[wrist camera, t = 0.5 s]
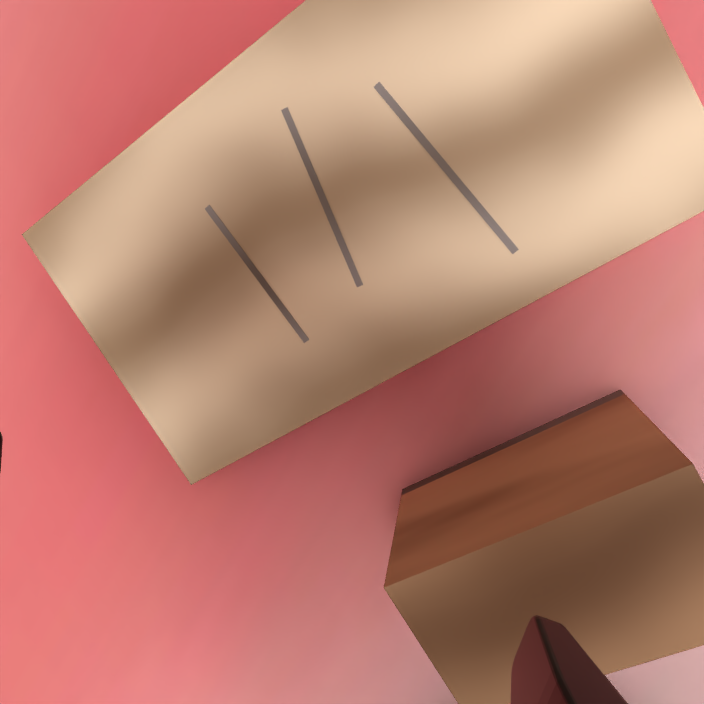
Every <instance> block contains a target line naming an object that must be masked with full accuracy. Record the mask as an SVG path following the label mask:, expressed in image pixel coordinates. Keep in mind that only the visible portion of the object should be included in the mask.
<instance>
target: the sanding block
mask: <svg viewBox="0 0 704 704" xmlns="http://www.w3.org/2000/svg"><path fill="white" fill-rule="evenodd" d="M384 589H385V590H386V592H387V593H388V595H389V597H390V598H391V600H392V601H393V603H394V604H395V606H396V607H397V609H398V611H399V612H400V614H401V615H402V617H403V618H404V620H405V621H406V623H407V625H408V626H409V628H410V629H411V631H412V632H413V634H414V635H415V637H416V639H417V640H418V642H419V643H420V645H421V646H422V648H423V649H424V651H425V653H426V654H427V656H428V657H429V659H430V660H431V662H432V663H433V665H434V667H435V668H436V670H437V671H438V673H439V674H440V676H441V677H442V679H443V680H444V682H445V684H446V685H447V687H448V688H449V690H450V691H451V693H452V694H453V696H454V698H455V699H456V701H457V702H458V704H509V703H511V672H512V665H513V661H514V658H515V655H516V652H517V650H518V647H519V645H520V642H521V640H522V637H523V635H524V632H525V630H526V627H527V625H528V623H529V621H530V619H531V618H532V617H533V616H536V615H538V616H541V617H544V618H547V619H550V620H553V621H556V622H559V623H561V624H562V625H564V626H565V627H566V629H567V630H568V631H569V632H570V633H571V635H572V636H573V637H574V638H575V640H576V641H577V642H578V643H579V645H580V646H581V647H582V648H583V649H584V651H585V652H586V653H587V654H588V656H589V657H590V658H591V659H592V660H593V662H594V663H595V664H596V665H597V667H598V668H599V669H600V670H601V671H602V673H603V674H604V675H606V674H609V673H612V672H616V671H619V670H622V669H626V668H629V667H632V666H636V665H639V664H642V663H646V662H649V661H652V660H656V659H659V658H662V657H666V656H669V655H672V654H676V653H679V652H682V651H686V650H689V649H692V648H696V647H699V646H702V645H704V483H703V482H702V480H701V478H700V476H699V474H698V472H697V470H696V469H695V467H694V465H693V463H692V462H691V461H690V460H689V459H688V458H687V457H686V456H685V455H684V454H683V453H682V452H681V451H680V450H679V449H678V448H677V447H676V446H675V445H674V444H673V443H672V442H671V441H670V440H669V439H668V438H667V437H666V436H665V435H664V434H663V433H662V432H661V431H660V430H659V429H658V428H657V427H656V425H655V424H654V423H653V422H652V421H651V420H650V419H649V418H648V417H647V416H646V415H645V414H644V413H643V412H642V411H641V410H640V409H639V408H638V407H637V406H636V405H635V404H634V403H633V402H632V401H631V400H630V399H629V398H628V397H627V396H626V395H625V394H624V393H623V392H622V391H621V390H618V391H616V392H614V393H612V394H610V395H607V396H605V397H603V398H601V399H599V400H596V401H594V402H592V403H590V404H588V405H586V406H583V407H581V408H579V409H577V410H575V411H572V412H570V413H568V414H566V415H564V416H562V417H559V418H557V419H555V420H553V421H551V422H548V423H546V424H544V425H542V426H540V427H538V428H535V429H533V430H531V431H529V432H527V433H524V434H522V435H520V436H518V437H516V438H514V439H511V440H509V441H507V442H505V443H503V444H500V445H498V446H496V447H494V448H492V449H490V450H487V451H485V452H483V453H481V454H479V455H476V456H474V457H472V458H470V459H468V460H466V461H463V462H461V463H459V464H457V465H455V466H452V467H450V468H448V469H446V470H444V471H442V472H439V473H437V474H435V475H433V476H431V477H428V478H426V479H424V480H422V481H420V482H417V483H415V484H413V485H411V486H409V487H407V488H404V489H403V490H402V495H401V500H400V506H399V511H398V516H397V521H396V527H395V532H394V537H393V542H392V547H391V553H390V558H389V563H388V568H387V574H386V579H385V584H384Z"/></svg>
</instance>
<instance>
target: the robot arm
mask: <svg viewBox="0 0 704 704" xmlns="http://www.w3.org/2000/svg"><path fill="white" fill-rule="evenodd" d="M2 441H3V439H2V434H1V432H0V471H1V457H2ZM511 704H628V703H627V702H626V701H625V700H624V698H623V697H622V696H621V695H620V694H619V692H618V691H617V690H616V689H615V687H614V686H613V685H612V684H611V683H610V681H609V680H608V679H607V678H606V676H605V675H604V674H603V673H602V671H601V670H600V669H599V668H598V667H597V665H596V664H595V663H594V662H593V660H592V659H591V658H590V657H589V656H588V654H587V653H586V652H585V651H584V649H583V648H582V647H581V646H580V645H579V643H578V642H577V641H576V640H575V638H574V637H573V636H572V635H571V633H570V632H569V631H568V630H567V629H566V627H565V626H564V625H562V624H561V623H559V622H556V621H553V620H550V619H547V618H544V617H541V616H538V615H536V616H533V617H532V618H531V619H530V621H529V623H528V625H527V627H526V630H525V632H524V635H523V637H522V640H521V642H520V645H519V647H518V650H517V652H516V655H515V658H514V661H513V665H512V672H511Z"/></svg>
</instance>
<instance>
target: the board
mask: <svg viewBox="0 0 704 704" xmlns="http://www.w3.org/2000/svg"><path fill="white" fill-rule="evenodd" d="M703 211H704V108H703V106H702V104H701V102H700V100H699V98H698V96H697V94H696V92H695V90H694V88H693V85H692V83H691V81H690V79H689V77H688V75H687V73H686V71H685V69H684V67H683V65H682V63H681V61H680V59H679V57H678V55H677V53H676V51H675V49H674V47H673V45H672V43H671V41H670V39H669V36H668V34H667V32H666V30H665V28H664V26H663V24H662V22H661V20H660V18H659V16H658V14H657V12H656V10H655V8H654V6H653V4H652V2H651V0H305V1H304V2H303V3H302V4H301V5H299V6H298V7H297V8H296V9H295V10H293V11H292V12H291V13H290V14H288V15H287V16H286V17H285V18H284V19H282V20H281V21H280V22H279V23H278V24H276V25H275V26H274V27H273V28H271V29H270V30H269V31H268V32H267V33H265V34H264V35H263V36H262V37H261V38H259V39H258V40H257V41H256V42H255V43H253V44H252V45H251V46H250V47H248V48H247V49H246V50H245V51H244V52H242V53H241V54H240V55H239V56H238V57H236V58H235V59H234V60H233V61H232V62H230V63H229V64H228V65H227V66H225V67H224V68H223V69H222V70H221V71H219V72H218V73H217V74H216V75H215V76H213V77H212V78H211V79H210V80H208V81H207V82H206V83H205V84H204V85H202V86H201V87H200V88H199V89H198V90H196V91H195V92H194V93H193V94H192V95H190V96H189V97H188V98H187V99H185V100H184V101H183V102H182V103H181V104H179V105H178V106H177V107H176V108H175V109H173V110H172V111H171V112H170V113H169V114H167V115H166V116H165V117H164V118H162V119H161V120H160V121H159V122H158V123H156V124H155V125H154V126H153V127H152V128H150V129H149V130H148V131H147V132H145V133H144V134H143V135H142V136H141V137H139V138H138V139H137V140H136V141H135V142H133V143H132V144H131V145H130V146H129V147H127V148H126V149H125V150H124V151H122V152H121V153H120V154H119V155H118V156H116V157H115V158H114V159H113V160H112V161H110V162H109V163H108V164H107V165H105V166H104V167H103V168H102V169H101V170H99V171H98V172H97V173H96V174H95V175H93V176H92V177H91V178H90V179H89V180H87V181H86V182H85V183H84V184H82V185H81V186H80V187H79V188H78V189H76V190H75V191H74V192H73V193H72V194H70V195H69V196H68V197H67V198H66V199H64V200H63V201H62V202H61V203H59V204H58V205H57V206H56V207H55V208H53V209H52V210H51V211H50V212H49V213H47V214H46V215H45V216H44V217H42V218H41V219H40V220H39V221H38V222H36V223H35V224H34V225H33V226H32V227H30V228H29V229H28V230H27V231H26V232H24V233H23V234H22V235H23V237H24V238H25V240H26V241H27V243H28V244H29V246H30V247H31V249H32V250H33V252H34V253H35V255H36V256H37V258H38V259H39V261H40V262H41V264H42V265H43V267H44V268H45V269H46V271H47V272H48V274H49V275H50V277H51V278H52V280H53V281H54V283H55V284H56V286H57V287H58V289H59V290H60V292H61V293H62V295H63V296H64V298H65V299H66V301H67V302H68V303H69V305H70V306H71V308H72V309H73V311H74V312H75V314H76V315H77V317H78V318H79V320H80V321H81V323H82V324H83V326H84V327H85V329H86V330H87V332H88V333H89V334H90V336H91V337H92V339H93V340H94V342H95V343H96V345H97V346H98V348H99V349H100V351H101V352H102V354H103V355H104V357H105V358H106V360H107V361H108V363H109V364H110V366H111V367H112V368H113V370H114V371H115V373H116V374H117V376H118V377H119V379H120V380H121V382H122V383H123V385H124V386H125V388H126V389H127V391H128V392H129V394H130V395H131V397H132V398H133V400H134V401H135V402H136V404H137V405H138V407H139V408H140V410H141V411H142V413H143V414H144V416H145V417H146V419H147V420H148V422H149V423H150V425H151V426H152V428H153V429H154V431H155V432H156V434H157V435H158V436H159V438H160V439H161V441H162V442H163V444H164V445H165V447H166V448H167V450H168V451H169V453H170V454H171V456H172V457H173V459H174V460H175V462H176V463H177V465H178V466H179V467H180V469H181V470H182V472H183V473H184V475H185V476H186V478H187V479H188V481H189V482H190V484H191V485H192V484H194V483H196V482H197V481H199V480H201V479H203V478H205V477H207V476H209V475H211V474H212V473H214V472H216V471H218V470H220V469H222V468H224V467H226V466H227V465H229V464H231V463H233V462H235V461H237V460H239V459H240V458H242V457H244V456H246V455H248V454H250V453H252V452H254V451H255V450H257V449H259V448H261V447H263V446H265V445H267V444H269V443H270V442H272V441H274V440H276V439H278V438H280V437H282V436H284V435H285V434H287V433H289V432H291V431H293V430H295V429H297V428H298V427H300V426H302V425H304V424H306V423H308V422H310V421H312V420H313V419H315V418H317V417H319V416H321V415H323V414H325V413H327V412H328V411H330V410H332V409H334V408H336V407H338V406H340V405H341V404H343V403H345V402H347V401H349V400H351V399H353V398H355V397H356V396H358V395H360V394H362V393H364V392H366V391H368V390H370V389H371V388H373V387H375V386H377V385H379V384H381V383H383V382H385V381H386V380H388V379H390V378H392V377H394V376H396V375H398V374H399V373H401V372H403V371H405V370H407V369H409V368H411V367H413V366H414V365H416V364H418V363H420V362H422V361H424V360H426V359H428V358H429V357H431V356H433V355H435V354H437V353H439V352H441V351H443V350H444V349H446V348H448V347H450V346H452V345H454V344H456V343H457V342H459V341H461V340H463V339H465V338H467V337H469V336H471V335H472V334H474V333H476V332H478V331H480V330H482V329H484V328H486V327H487V326H489V325H491V324H493V323H495V322H497V321H499V320H501V319H502V318H504V317H506V316H508V315H510V314H512V313H514V312H515V311H517V310H519V309H521V308H523V307H525V306H527V305H529V304H530V303H532V302H534V301H536V300H538V299H540V298H542V297H544V296H545V295H547V294H549V293H551V292H553V291H555V290H557V289H559V288H560V287H562V286H564V285H566V284H568V283H570V282H572V281H573V280H575V279H577V278H579V277H581V276H583V275H585V274H587V273H588V272H590V271H592V270H594V269H596V268H598V267H600V266H602V265H603V264H605V263H607V262H609V261H611V260H613V259H615V258H617V257H618V256H620V255H622V254H624V253H626V252H628V251H630V250H631V249H633V248H635V247H637V246H639V245H641V244H643V243H645V242H646V241H648V240H650V239H652V238H654V237H656V236H658V235H660V234H661V233H663V232H665V231H667V230H669V229H671V228H673V227H675V226H676V225H678V224H680V223H682V222H684V221H686V220H688V219H689V218H691V217H693V216H695V215H697V214H699V213H701V212H703Z"/></svg>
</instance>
